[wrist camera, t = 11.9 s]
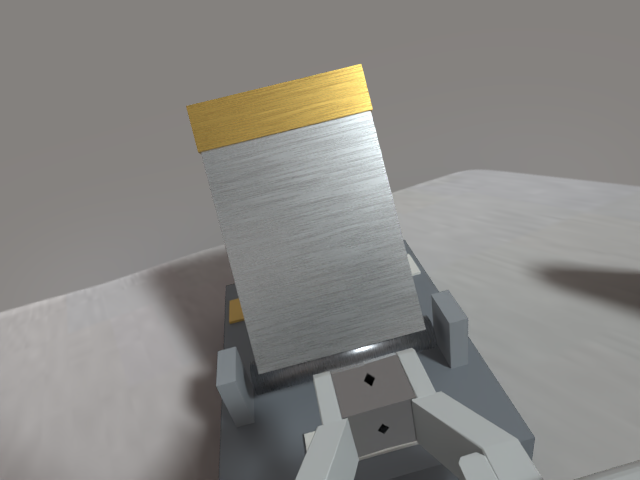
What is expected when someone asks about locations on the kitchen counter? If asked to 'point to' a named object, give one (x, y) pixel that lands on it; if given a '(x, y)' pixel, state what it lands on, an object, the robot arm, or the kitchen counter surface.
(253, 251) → the lever
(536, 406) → the kitchen counter surface
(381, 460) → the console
